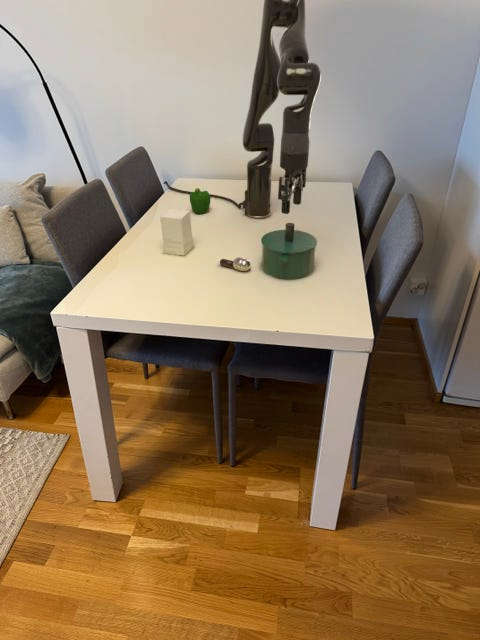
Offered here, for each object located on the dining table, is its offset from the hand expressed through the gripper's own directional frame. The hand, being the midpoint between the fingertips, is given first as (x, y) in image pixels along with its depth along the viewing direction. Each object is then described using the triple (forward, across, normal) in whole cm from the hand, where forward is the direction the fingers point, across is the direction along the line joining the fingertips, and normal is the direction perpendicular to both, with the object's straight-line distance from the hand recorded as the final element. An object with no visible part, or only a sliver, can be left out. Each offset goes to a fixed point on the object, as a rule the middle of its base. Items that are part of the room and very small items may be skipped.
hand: (291, 208), depth 127 cm
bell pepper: (+19, -29, -50) cm, 61 cm away
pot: (+19, 0, 0) cm, 19 cm away
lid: (+10, 0, 0) cm, 10 cm away
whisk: (+19, +8, -14) cm, 25 cm away
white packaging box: (+19, +5, -37) cm, 42 cm away
